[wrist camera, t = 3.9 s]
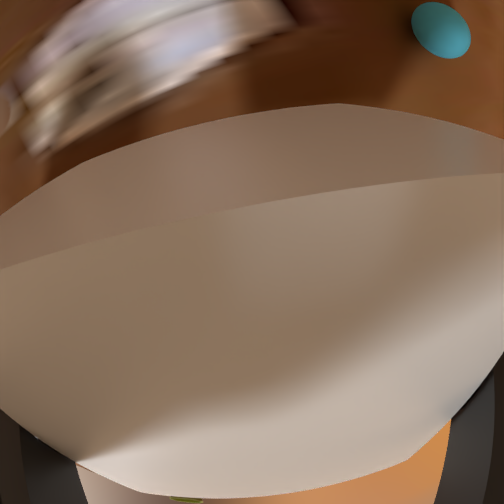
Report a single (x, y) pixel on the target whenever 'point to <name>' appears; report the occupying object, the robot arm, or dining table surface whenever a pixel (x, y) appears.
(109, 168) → the off-white square block
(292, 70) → the dining table surface
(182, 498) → the plant pot
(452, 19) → the ball
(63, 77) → the dining table surface
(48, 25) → the dining table surface
